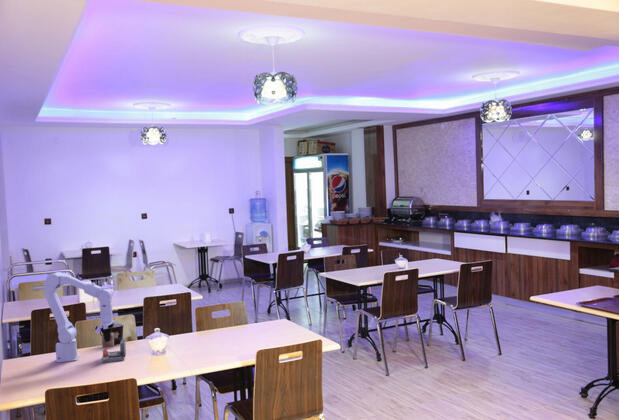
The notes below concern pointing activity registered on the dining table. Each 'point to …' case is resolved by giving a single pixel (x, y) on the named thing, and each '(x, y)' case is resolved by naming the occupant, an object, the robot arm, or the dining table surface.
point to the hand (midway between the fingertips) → (108, 340)
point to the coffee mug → (117, 333)
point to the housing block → (109, 343)
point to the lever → (105, 355)
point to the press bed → (117, 353)
